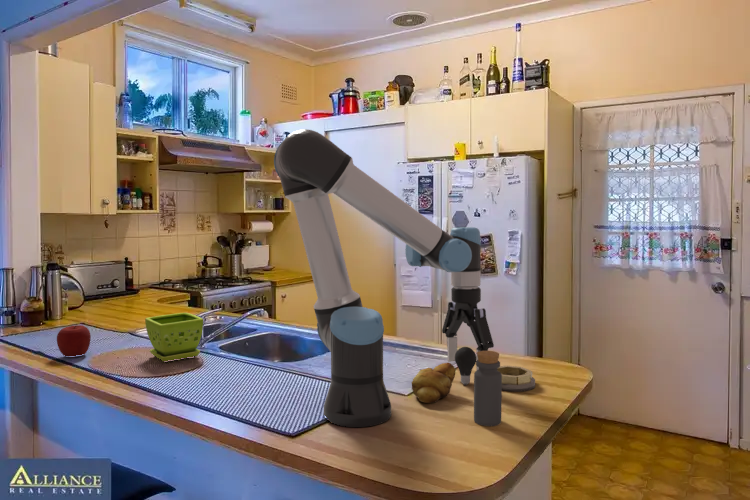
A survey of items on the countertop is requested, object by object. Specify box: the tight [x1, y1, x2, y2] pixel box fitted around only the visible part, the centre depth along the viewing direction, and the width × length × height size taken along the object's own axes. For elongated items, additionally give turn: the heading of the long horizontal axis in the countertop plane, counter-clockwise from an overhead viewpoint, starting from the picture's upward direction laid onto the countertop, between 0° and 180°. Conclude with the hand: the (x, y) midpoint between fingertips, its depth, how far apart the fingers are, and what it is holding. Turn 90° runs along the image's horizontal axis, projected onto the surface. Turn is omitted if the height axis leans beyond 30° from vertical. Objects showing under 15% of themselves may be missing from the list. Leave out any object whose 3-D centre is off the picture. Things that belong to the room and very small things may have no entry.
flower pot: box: [144, 312, 204, 362], centre depth 173 cm, size 14×14×13 cm
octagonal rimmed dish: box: [497, 365, 536, 393], centre depth 145 cm, size 12×12×4 cm
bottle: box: [473, 350, 503, 427], centre depth 119 cm, size 6×6×15 cm
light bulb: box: [454, 346, 476, 386], centre depth 144 cm, size 6×6×10 cm
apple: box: [56, 324, 92, 357], centre depth 175 cm, size 10×10×10 cm
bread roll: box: [411, 362, 456, 404], centre depth 135 cm, size 13×10×8 cm
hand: (466, 367), depth 144 cm, fingers open, 13 cm apart
